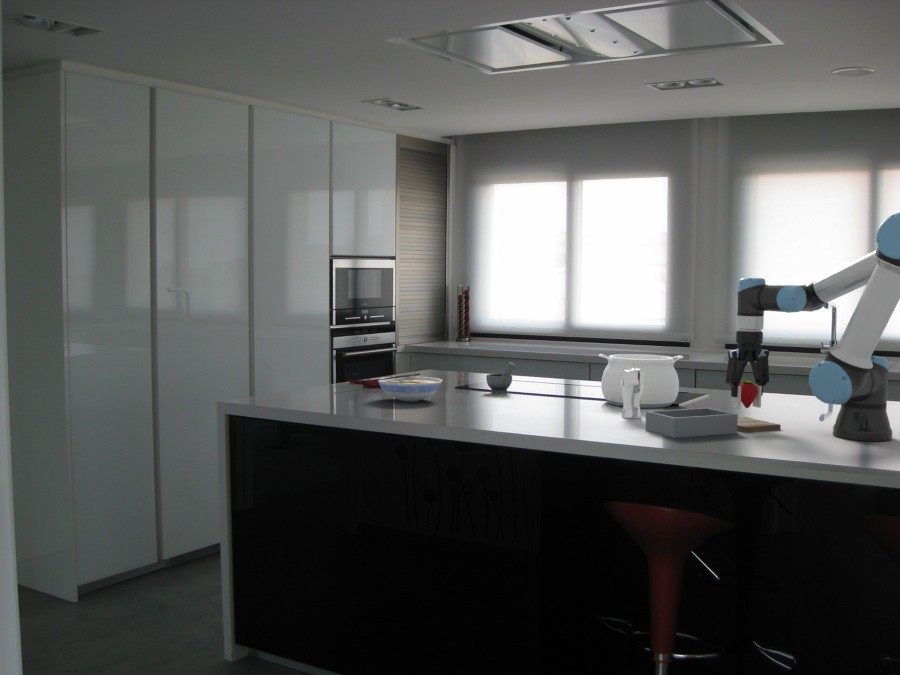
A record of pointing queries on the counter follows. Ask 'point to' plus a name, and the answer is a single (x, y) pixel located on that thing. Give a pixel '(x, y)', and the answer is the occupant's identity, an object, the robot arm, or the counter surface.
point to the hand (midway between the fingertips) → (746, 407)
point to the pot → (656, 374)
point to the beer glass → (632, 392)
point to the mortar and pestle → (500, 380)
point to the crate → (691, 422)
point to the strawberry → (748, 392)
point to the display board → (755, 425)
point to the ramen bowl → (409, 386)
